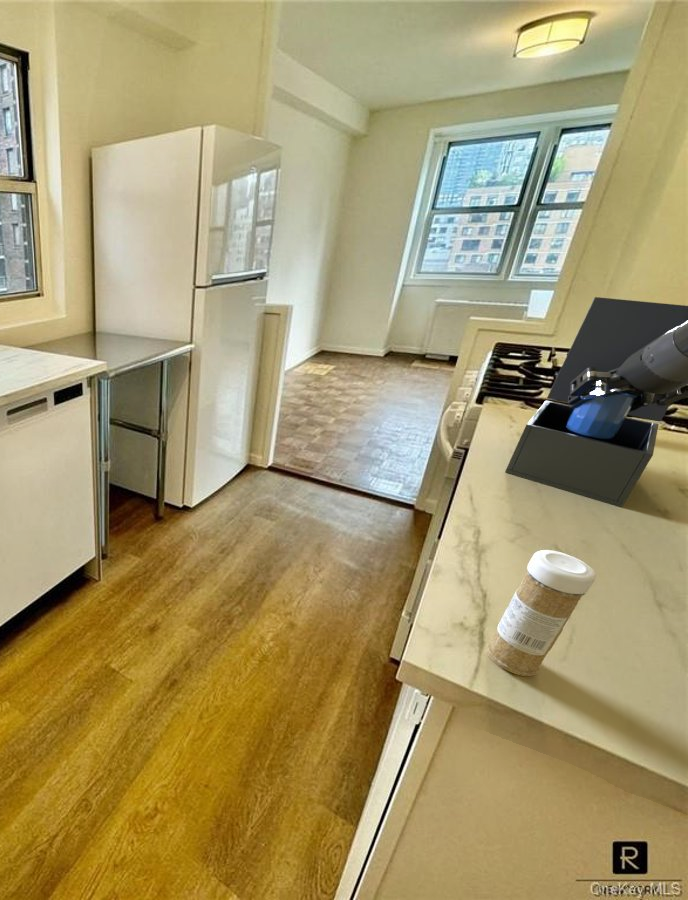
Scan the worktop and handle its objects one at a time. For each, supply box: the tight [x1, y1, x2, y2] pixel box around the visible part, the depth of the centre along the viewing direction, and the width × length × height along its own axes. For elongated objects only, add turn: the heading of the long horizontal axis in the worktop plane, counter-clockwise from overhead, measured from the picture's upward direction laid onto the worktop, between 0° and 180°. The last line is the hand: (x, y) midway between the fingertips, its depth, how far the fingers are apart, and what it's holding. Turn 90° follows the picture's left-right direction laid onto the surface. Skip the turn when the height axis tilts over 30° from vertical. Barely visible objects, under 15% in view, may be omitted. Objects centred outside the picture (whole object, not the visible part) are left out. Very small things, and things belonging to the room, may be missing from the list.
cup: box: [566, 384, 638, 439], centre depth 85 cm, size 6×6×8 cm
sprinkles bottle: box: [485, 549, 597, 677], centre depth 49 cm, size 5×5×13 cm
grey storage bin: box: [504, 400, 659, 508], centre depth 88 cm, size 19×16×10 cm
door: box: [546, 296, 688, 423], centre depth 88 cm, size 20×16×1 cm
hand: (596, 405), depth 86 cm, fingers closed on cup, 6 cm apart
